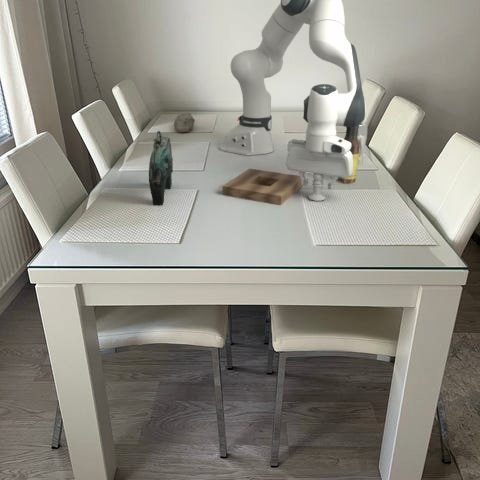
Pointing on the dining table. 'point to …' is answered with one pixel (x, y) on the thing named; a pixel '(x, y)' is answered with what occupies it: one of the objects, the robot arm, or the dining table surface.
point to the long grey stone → (184, 122)
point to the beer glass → (362, 139)
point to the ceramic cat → (160, 168)
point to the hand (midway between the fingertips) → (317, 186)
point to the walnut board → (263, 186)
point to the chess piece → (317, 188)
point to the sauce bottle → (352, 137)
